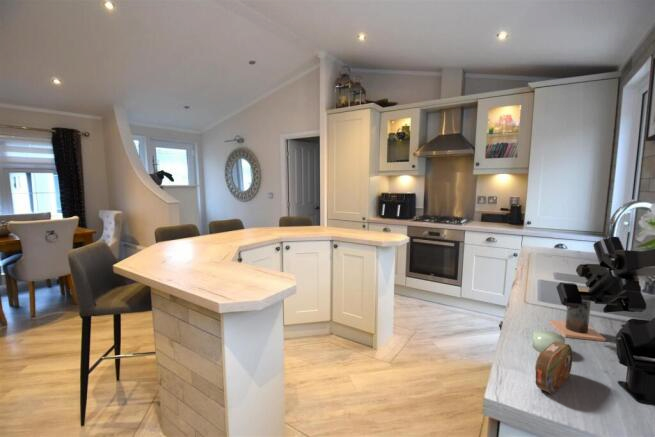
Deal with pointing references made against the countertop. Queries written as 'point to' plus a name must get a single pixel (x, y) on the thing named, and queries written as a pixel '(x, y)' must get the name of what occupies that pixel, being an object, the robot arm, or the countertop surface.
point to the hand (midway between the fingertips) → (585, 309)
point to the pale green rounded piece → (545, 339)
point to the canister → (579, 316)
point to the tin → (553, 366)
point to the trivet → (570, 334)
